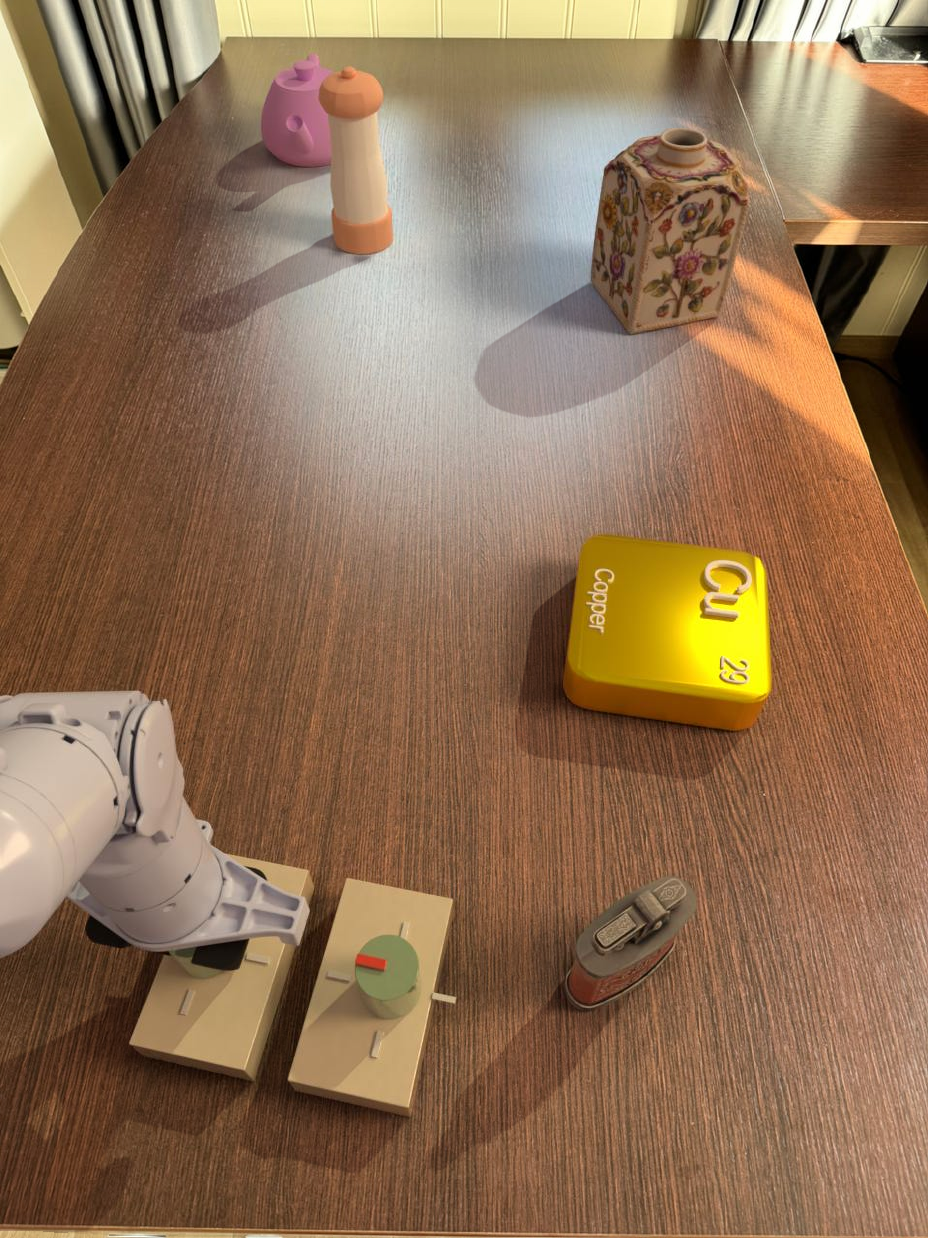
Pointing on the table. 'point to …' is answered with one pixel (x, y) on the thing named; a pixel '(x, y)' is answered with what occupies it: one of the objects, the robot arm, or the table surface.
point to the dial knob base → (341, 1023)
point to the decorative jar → (668, 230)
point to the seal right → (388, 976)
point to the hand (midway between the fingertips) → (206, 945)
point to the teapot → (297, 116)
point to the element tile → (669, 632)
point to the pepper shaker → (356, 162)
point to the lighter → (628, 942)
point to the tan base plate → (221, 999)
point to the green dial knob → (184, 961)
